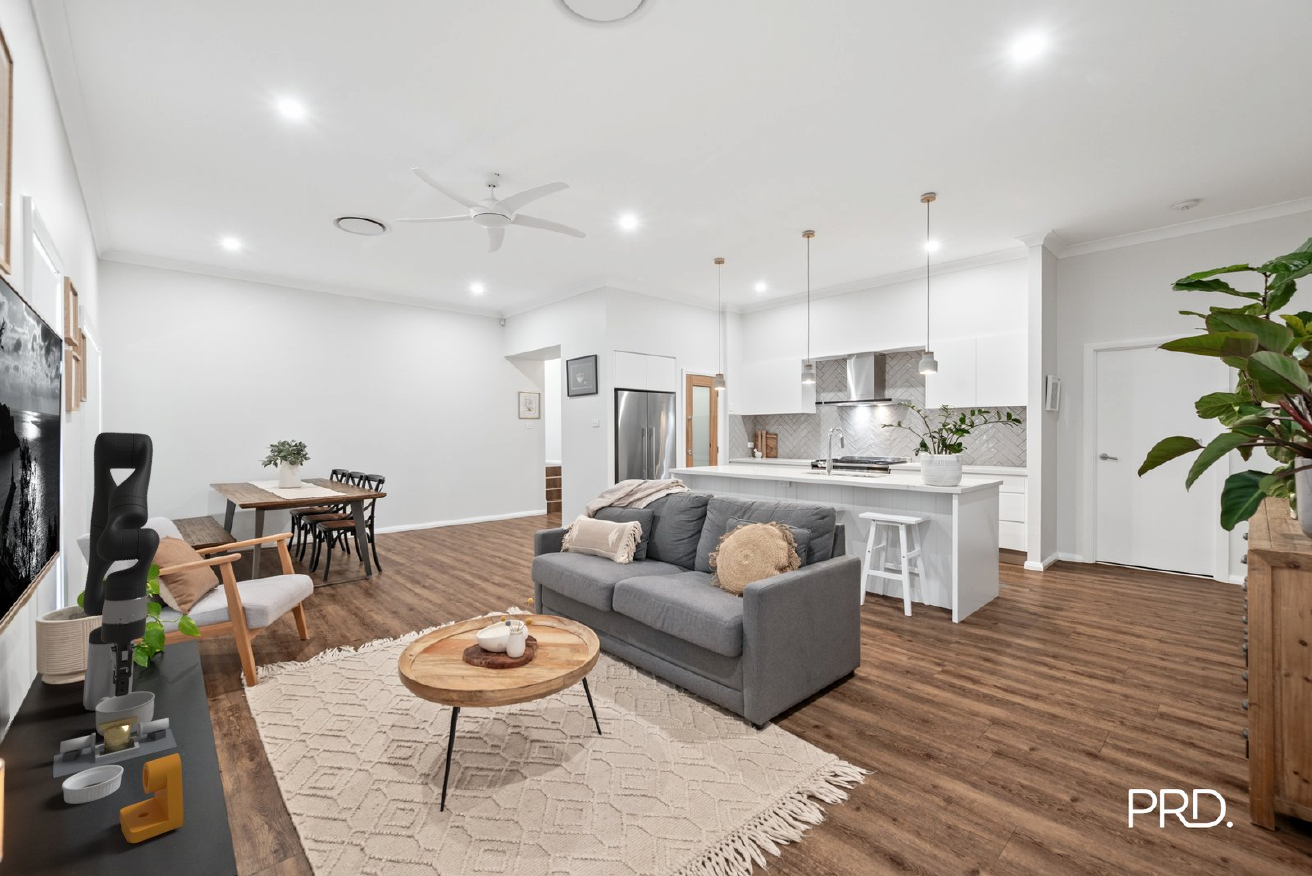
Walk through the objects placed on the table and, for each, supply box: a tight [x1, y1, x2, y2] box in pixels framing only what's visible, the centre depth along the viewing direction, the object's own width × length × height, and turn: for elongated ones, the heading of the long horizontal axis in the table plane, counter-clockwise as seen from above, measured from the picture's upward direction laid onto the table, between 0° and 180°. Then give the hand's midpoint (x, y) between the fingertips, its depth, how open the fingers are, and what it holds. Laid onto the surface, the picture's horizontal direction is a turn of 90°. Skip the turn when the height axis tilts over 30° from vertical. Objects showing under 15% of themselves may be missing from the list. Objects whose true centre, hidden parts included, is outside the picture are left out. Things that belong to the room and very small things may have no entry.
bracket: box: [119, 752, 185, 844], centre depth 110 cm, size 11×7×12 cm, turn 51°
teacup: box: [94, 690, 156, 737], centre depth 145 cm, size 14×11×8 cm
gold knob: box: [99, 715, 137, 755], centre depth 134 cm, size 6×4×7 cm
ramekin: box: [61, 764, 124, 805], centre depth 118 cm, size 9×9×4 cm
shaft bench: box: [52, 717, 178, 779], centre depth 133 cm, size 20×12×6 cm, turn 135°
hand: (120, 689), depth 134 cm, fingers open, 8 cm apart
